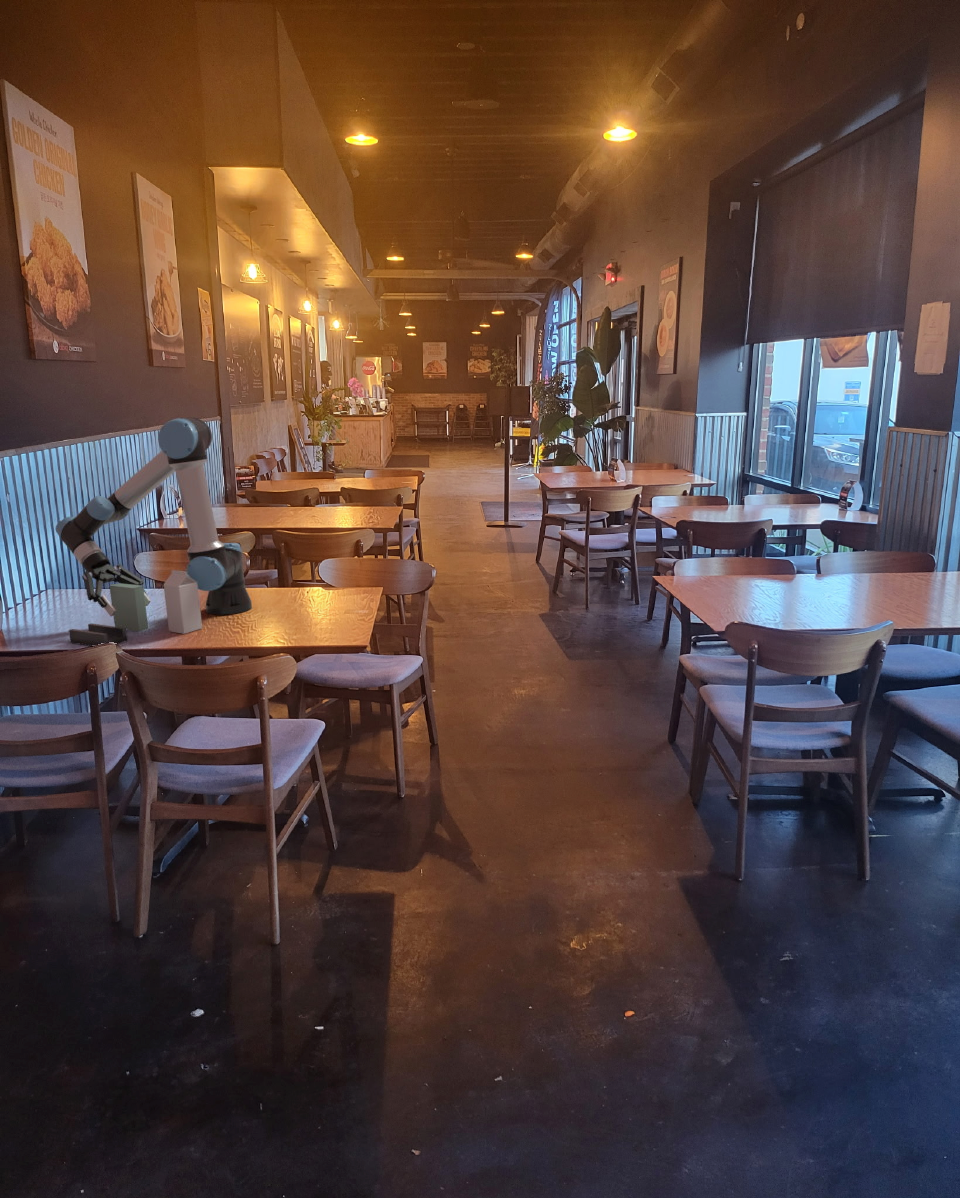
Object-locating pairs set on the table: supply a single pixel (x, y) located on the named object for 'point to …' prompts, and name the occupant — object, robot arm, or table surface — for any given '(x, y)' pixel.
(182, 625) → the milk carton
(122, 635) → the bottom track
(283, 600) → the table surface
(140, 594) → the door panel
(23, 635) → the table surface
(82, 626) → the table surface
